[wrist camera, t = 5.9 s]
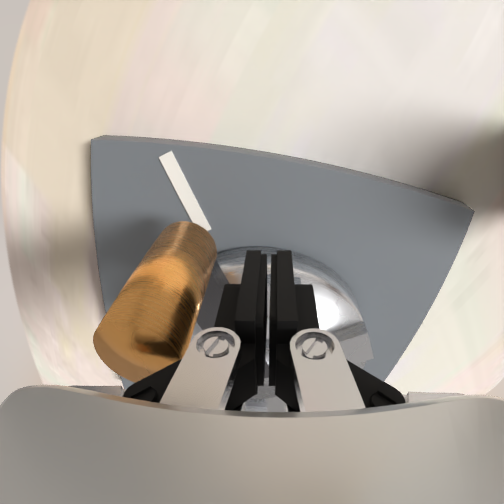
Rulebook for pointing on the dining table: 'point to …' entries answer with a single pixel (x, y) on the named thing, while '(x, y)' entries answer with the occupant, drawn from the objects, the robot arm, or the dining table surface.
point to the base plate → (281, 223)
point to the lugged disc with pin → (209, 306)
